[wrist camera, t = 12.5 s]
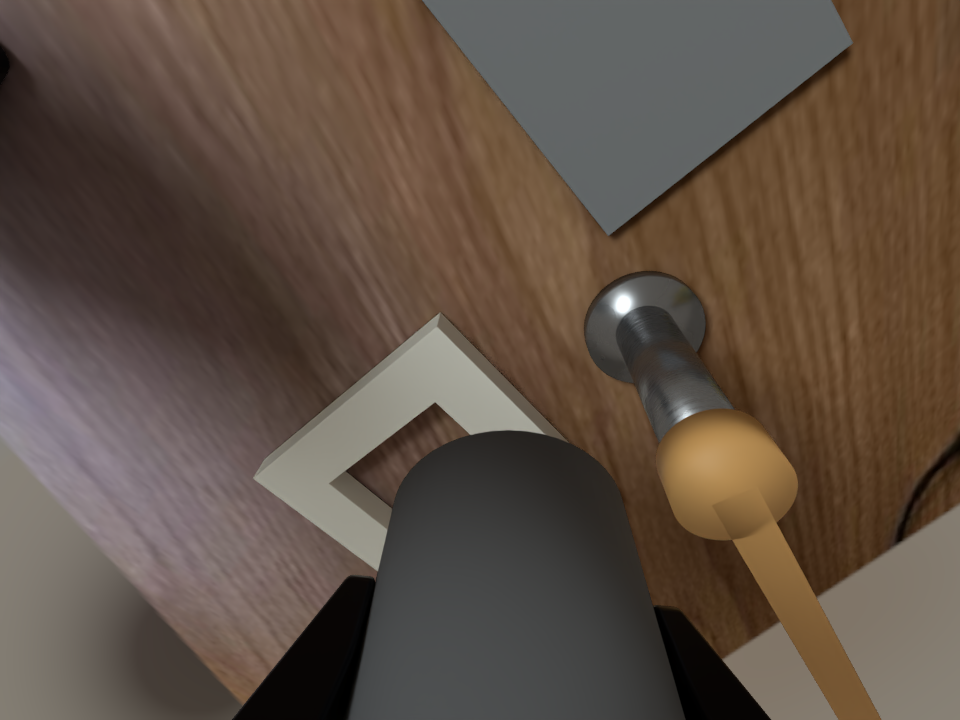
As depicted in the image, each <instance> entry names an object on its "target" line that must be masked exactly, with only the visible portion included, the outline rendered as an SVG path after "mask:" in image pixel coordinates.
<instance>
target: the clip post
mask: <svg viewBox="0 0 960 720" xmlns="http://www.w3.org/2000/svg"><path fill="white" fill-rule="evenodd" d="M705 324H706V322H705V314H704V310H703V307H702V305H701V303H700V301H699V300H698V298H697V297H696V295H695V294H694V293H693V292H692V291H691V290H690V288H689V287H688V286H687V285H686V284H685V283H683V282H682V281H681V280H679V279H678V278H676V277H674V276H672V275H669V274H666V273H662V272H657V271H641V272H635V273H631V274H628V275H625V276H622V277H620V278H618V279H616V280H614V281H613V282H611V283H610V284H608V285H607V286H606V287H605V288H604V289H602V290H601V291H600V293H599V294H598V295H597V296H596V297H595V299H594V300H593V301H592V303H591V305H590V307H589V309H588V311H587V314H586V318H585V322H584V336H585V341H586V344H587V348H588V351H589V353H590V356H591V358H592V359H593V361H594V362H595V364H596V365H597V366H598V367H599V368H600V369H601V370H602V371H603V372H604V373H606V374H607V375H609V376H611V377H613V378H615V379H617V380H620V381H624V382H629V383H634V385H635V387H636V389H637V392H638V394H639V396H640V399H641V401H642V404H643V406H644V408H645V411H646V413H647V415H648V418H649V420H650V422H651V425H652V427H653V430H654V432H655V434H656V437H657V439H658V441H659V444H660V442H661V440H662V438H663V437H664V436H665V434H666V433H667V432H668V431H669V430H670V429H671V428H672V427H673V426H674V425H675V424H677V423H678V422H680V421H681V420H683V419H684V418H686V417H688V416H690V415H693V414H695V413H698V412H701V411H705V410H710V409H720V408H721V409H733V410H735V409H734V408H733V406H732V405H731V403H730V402H729V400H728V399H727V397H726V396H725V394H724V393H723V391H722V390H721V388H720V387H719V386H718V384H717V383H716V381H715V380H714V378H713V377H712V375H711V374H710V372H709V371H708V369H707V368H706V366H705V365H704V363H703V362H702V361H701V359H700V358H699V356H698V355H697V353H696V352H697V351H698V349H699V347H700V345H701V343H702V340H703V337H704V333H705Z"/></svg>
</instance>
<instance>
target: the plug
mask: <svg viewBox="0 0 960 720" xmlns="http://www.w3.org/2000/svg"><path fill="white" fill-rule="evenodd" d="M343 720H686V719H685V716H684V712H683V709H682V705H681V702H680V698H679V695H678V692H677V688H676V685H675V681H674V678H673V674H672V671H671V667H670V664H669V660H668V657H667V653H666V650H665V646H664V643H663V639H662V636H661V632H660V629H659V626H658V622H657V619H656V615H655V612H654V608H653V605H652V601H651V598H650V594H649V591H648V587H647V584H646V580H645V577H644V573H643V570H642V566H641V563H640V560H639V556H638V553H637V549H636V546H635V542H634V539H633V535H632V532H631V528H630V525H629V521H628V518H627V514H626V511H625V507H624V504H623V501H622V497H621V494H620V491H619V489H618V487H617V485H616V483H615V481H614V480H613V478H612V477H611V476H610V474H609V473H608V472H607V470H606V469H605V468H604V467H603V466H602V465H601V464H600V463H599V462H598V461H597V460H595V459H594V458H593V457H592V456H590V455H589V454H588V453H586V452H585V451H583V450H581V449H580V448H578V447H576V446H574V445H572V444H570V443H568V442H565V441H563V440H561V439H558V438H555V437H551V436H548V435H544V434H540V433H534V432H528V431H515V430H502V431H489V432H483V433H477V434H473V435H469V436H465V437H462V438H459V439H456V440H454V441H451V442H449V443H446V444H445V445H443V446H441V447H439V448H437V449H435V450H434V451H432V452H431V453H429V454H428V455H427V456H425V457H424V458H423V459H421V460H420V461H419V462H418V463H417V464H416V465H415V466H414V467H413V468H412V469H411V470H410V472H409V473H408V474H407V476H406V477H405V478H404V480H403V482H402V483H401V485H400V487H399V489H398V491H397V494H396V497H395V500H394V504H393V509H392V513H391V517H390V521H389V526H388V530H387V534H386V539H385V543H384V547H383V552H382V556H381V560H380V564H379V569H378V573H377V577H376V582H375V587H374V591H373V596H372V600H371V604H370V609H369V613H368V617H367V621H366V626H365V630H364V634H363V639H362V643H361V647H360V652H359V656H358V660H357V664H356V668H355V672H354V676H353V681H352V685H351V689H350V693H349V698H348V702H347V706H346V711H345V715H344V719H343Z"/></svg>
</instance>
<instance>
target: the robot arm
mask: <svg viewBox="0 0 960 720" xmlns="http://www.w3.org/2000/svg"><path fill="white" fill-rule="evenodd" d="M8 70H9V60H8V57H7V55H6V53H5V52H4V50H3V49H2V48H1V47H0V85H1V83H2V82H3V80H4V78H5V77H6V75H7V73H8ZM374 587H375V580H374V578H373V577H370V576H360V575H350V576H348V577H347V578H346V579H345V580H344V582H343V583H342V584H341V585H340V587H339V588H338V589H337V590H336V592H335V593H334V594H333V595H332V596H331V598H330V599H329V600H328V601H327V603H326V604H325V605H324V606H323V608H322V609H321V610H320V611H319V613H318V614H317V615H316V616H315V617H314V619H313V620H312V621H311V622H310V624H309V625H308V626H307V627H306V629H305V630H304V631H303V632H302V634H301V635H300V636H299V637H298V639H297V640H296V641H295V642H294V643H293V645H292V646H291V647H290V648H289V650H288V651H287V652H286V653H285V655H284V656H283V657H282V658H281V660H280V661H279V662H278V663H277V664H276V666H275V667H274V668H273V669H272V671H271V672H270V673H269V674H268V676H267V677H266V678H265V679H264V681H263V682H262V683H261V684H260V686H259V687H258V688H257V689H256V690H255V692H254V693H253V694H252V695H251V697H250V698H249V699H248V700H247V702H246V703H245V704H244V705H243V707H242V708H241V709H240V710H239V711H238V713H237V714H236V715H235V716H234V718H233V719H232V720H343V719H344V715H345V711H346V706H347V702H348V698H349V693H350V689H351V685H352V681H353V676H354V672H355V668H356V664H357V660H358V656H359V652H360V647H361V643H362V639H363V634H364V630H365V626H366V621H367V617H368V613H369V609H370V604H371V600H372V596H373V591H374ZM653 608H654V612H655V615H656V619H657V622H658V626H659V629H660V632H661V636H662V639H663V643H664V646H665V650H666V653H667V657H668V660H669V664H670V667H671V671H672V674H673V678H674V681H675V685H676V688H677V692H678V695H679V698H680V702H681V705H682V709H683V712H684V716H685V719H686V720H771V719H770V718H769V716H768V715H767V714H766V713H765V712H764V711H763V709H762V708H761V707H760V706H759V704H758V703H757V702H756V701H755V699H754V698H753V697H752V696H751V695H750V693H749V692H748V691H747V690H746V688H745V687H744V686H743V685H742V684H741V682H740V681H739V680H738V679H737V677H736V676H735V675H734V674H733V673H732V671H731V670H730V669H729V668H728V666H727V665H726V664H725V663H724V662H723V660H722V659H721V658H720V657H719V655H718V654H717V653H716V652H715V651H714V649H713V648H712V647H711V646H710V645H709V643H708V642H707V641H706V640H705V638H704V637H703V636H702V635H701V634H700V632H699V631H698V630H697V629H696V627H695V626H694V625H693V624H692V623H691V621H690V620H689V619H688V618H687V616H686V615H685V614H684V613H683V612H682V611H681V610H680V609H678V608H677V607H671V606H661V605H655V606H653Z"/></svg>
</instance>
